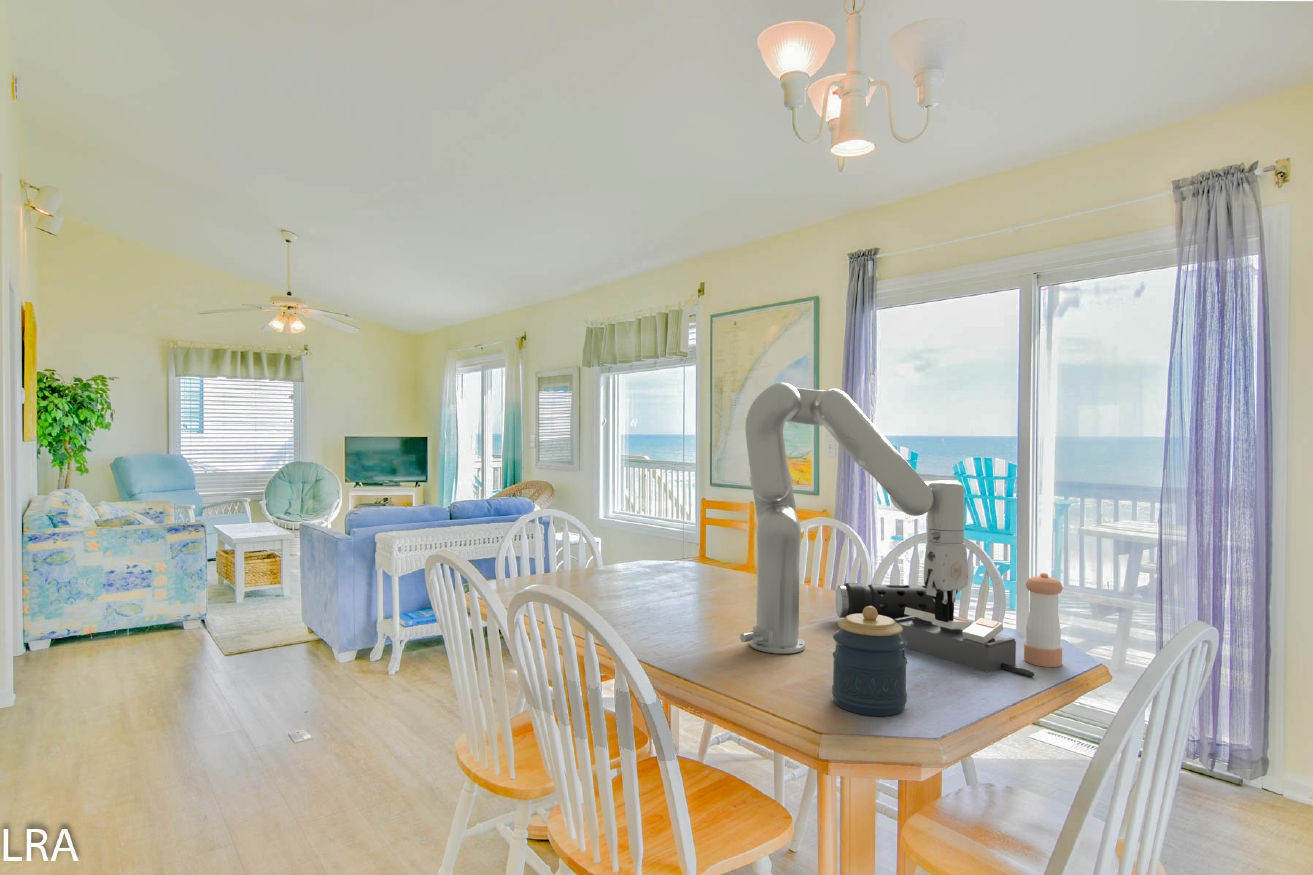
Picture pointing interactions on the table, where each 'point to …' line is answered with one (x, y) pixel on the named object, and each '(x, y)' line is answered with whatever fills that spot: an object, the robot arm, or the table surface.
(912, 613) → the bar
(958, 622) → the rocker
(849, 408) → the robot arm
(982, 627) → the rocker
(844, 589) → the muzzle brake
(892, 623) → the canister
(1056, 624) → the pepper shaker
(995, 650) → the strip
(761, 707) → the table surface
